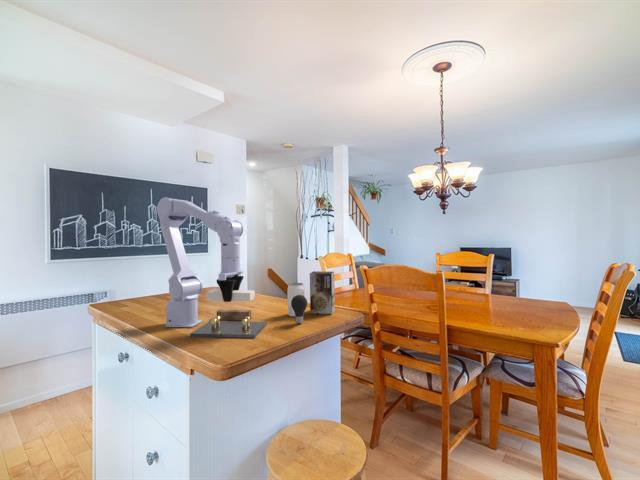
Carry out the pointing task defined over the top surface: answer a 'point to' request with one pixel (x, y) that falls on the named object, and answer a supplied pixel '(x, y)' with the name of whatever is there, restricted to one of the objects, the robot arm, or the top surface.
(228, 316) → the brown rectangular block
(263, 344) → the top surface
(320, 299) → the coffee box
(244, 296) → the board
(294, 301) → the light bulb
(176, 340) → the top surface
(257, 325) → the plate
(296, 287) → the can
